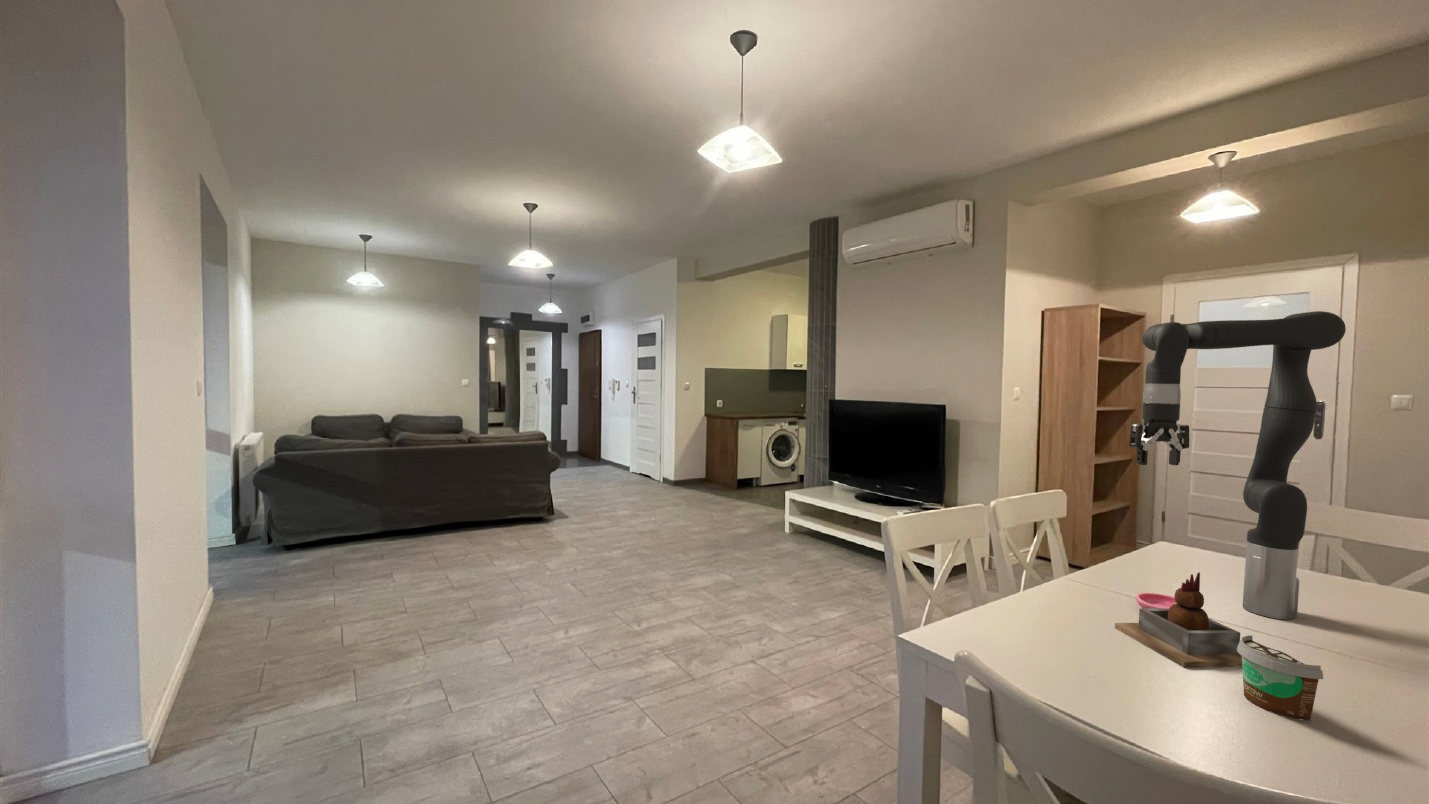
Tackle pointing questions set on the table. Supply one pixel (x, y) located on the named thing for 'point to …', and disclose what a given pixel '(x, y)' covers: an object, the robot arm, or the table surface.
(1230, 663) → the collar board
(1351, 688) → the table surface
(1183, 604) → the wooden figurine
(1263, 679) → the food container
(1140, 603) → the saucer
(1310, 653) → the table surface
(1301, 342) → the robot arm
